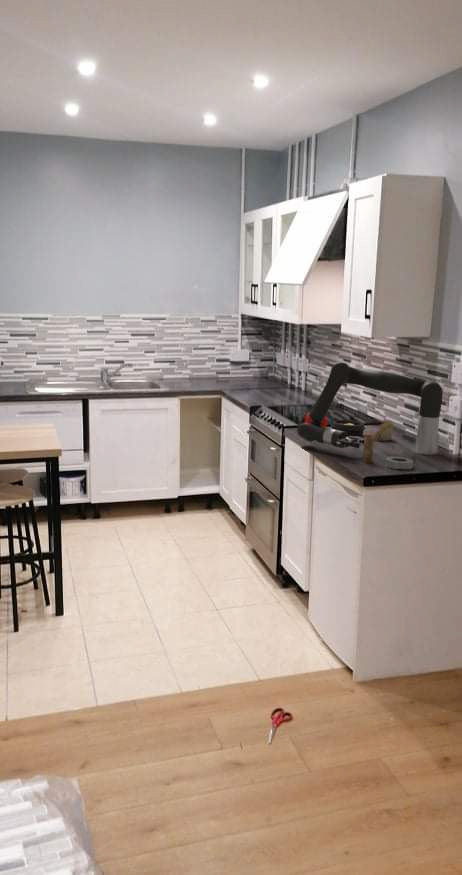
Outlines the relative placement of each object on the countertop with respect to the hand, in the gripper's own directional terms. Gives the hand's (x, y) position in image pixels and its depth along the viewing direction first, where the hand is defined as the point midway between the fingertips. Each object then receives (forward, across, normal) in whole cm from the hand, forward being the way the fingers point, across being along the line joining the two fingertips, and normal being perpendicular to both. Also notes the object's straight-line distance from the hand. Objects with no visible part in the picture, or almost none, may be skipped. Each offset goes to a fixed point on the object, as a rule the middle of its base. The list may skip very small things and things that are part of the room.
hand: (364, 444), depth 325 cm
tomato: (-58, +37, +7) cm, 69 cm away
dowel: (+2, 0, +7) cm, 7 cm away
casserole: (-33, +31, +7) cm, 46 cm away
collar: (+16, +3, +7) cm, 18 cm away
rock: (-22, +45, +7) cm, 51 cm away
